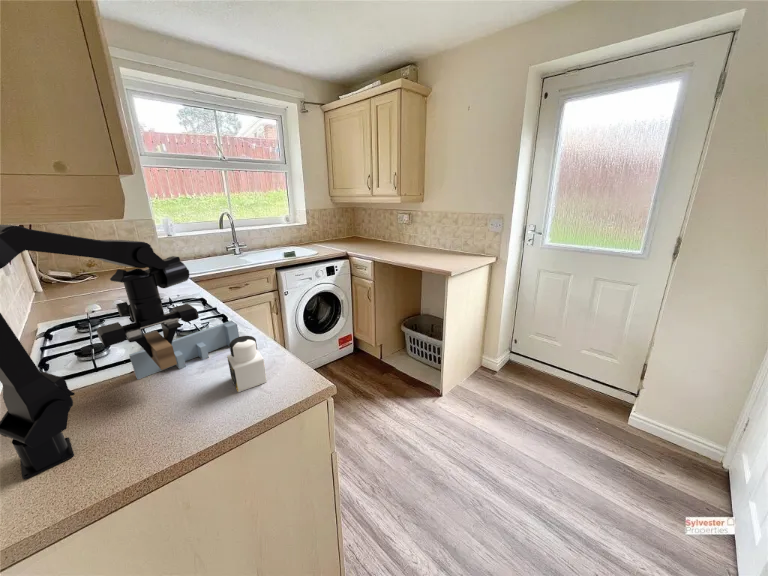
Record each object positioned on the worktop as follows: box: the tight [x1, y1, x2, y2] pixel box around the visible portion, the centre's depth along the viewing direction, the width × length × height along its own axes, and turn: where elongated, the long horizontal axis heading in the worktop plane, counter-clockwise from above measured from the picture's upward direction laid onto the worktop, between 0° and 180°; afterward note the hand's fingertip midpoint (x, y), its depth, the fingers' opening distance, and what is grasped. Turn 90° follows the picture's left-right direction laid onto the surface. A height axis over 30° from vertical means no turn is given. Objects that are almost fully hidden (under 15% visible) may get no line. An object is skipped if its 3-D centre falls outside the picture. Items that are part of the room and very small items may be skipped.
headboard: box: [129, 320, 240, 380], centre depth 88 cm, size 4×26×7 cm, turn 140°
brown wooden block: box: [142, 329, 177, 371], centre depth 76 cm, size 12×3×5 cm, turn 50°
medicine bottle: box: [227, 335, 268, 393], centre depth 78 cm, size 7×7×12 cm
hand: (159, 354), depth 76 cm, fingers closed on brown wooden block, 3 cm apart
